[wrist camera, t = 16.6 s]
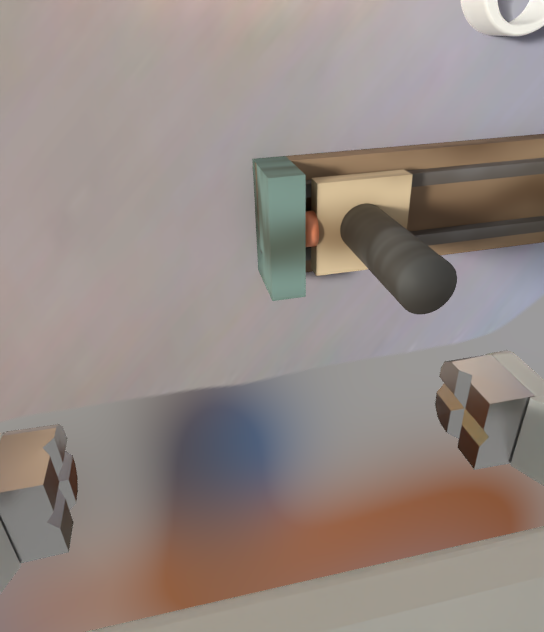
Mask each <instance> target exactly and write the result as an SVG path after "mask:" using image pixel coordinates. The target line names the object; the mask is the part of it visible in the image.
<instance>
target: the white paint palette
mask: <svg viewBox="0 0 544 632" xmlns="http://www.w3.org/2000/svg"><path fill="white" fill-rule="evenodd" d="M461 6H462V10H463V13H464V15H465V18H466V19H467V21H468V23H469V24H470V25H471V26H472V27H473V28H474V29H475V30H476V31H478V32H480V33H482V34H485V35H491V36H523V35H527V34H530V33H532V32H534V31H536V30H538V29H540V28H541V27H543V26H544V0H529V3H528V5H527V6H526V8H525V9H524V11H523V12H522V13H521V14H520V15H519V16H518V17H517V18H516V19H514V20H512V21H510V22H507V21H506V20H505V19H504V18H503V17H502V15H501V13H500V11H499V7H498V0H461Z"/></svg>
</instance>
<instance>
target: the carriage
mask: <svg viewBox="0 0 544 632" xmlns="http://www.w3.org/2000/svg"><path fill="white" fill-rule="evenodd" d="M412 176H413V174H411V173H409V172H407V171H406V170H404V169H402V170H391V171H381V172H370V173H360V174H349V175H338V176H328V177H317V178H311V211H312V210H313V211H314V212H315V214H316V216H317V220H318V225H319V242H318V245H317V246H314V247H311V269H312V270H313V272H314V273H315V274H316V276H320V275H327V274H335V273H343V272H351V271H359V270H366V269H369V270H370V271H371V272H372V273H373V274H374V276H375V277H376V278H377V279H378V280H379V281H380V282H381V283H382V284H383V285H384V286H385V288H386V289H387V290H388V291H389V292H390V293H391V294H392V295H393V296H394V297H395V299H396V300H397V301H398V302H399V303H400V304H401V305H402V306H403V307H404V308H405V309H406V310H407V311H409V312H411V313H414V314H427V313H430V312H433V311H435V310H437V309H439V308H440V307H442V306H443V305H444V304H445V303H446V302H447V301H448V300H449V299H450V297H451V296H452V294H453V292H454V290H455V287H456V283H457V275H456V271H455V269H454V267H453V266H452V265H451V264H450V263H449V262H448V261H447V260H445V259H444V258H443V257H442V256H440V255H439V254H438V253H436V252H435V251H434V250H433V249H431V248H430V247H429V246H427V245H426V244H425V243H424V242H422V241H421V240H420V239H418V238H417V237H416V236H415V235H413V234H412V233H411V232H410V231H408V230H407V223H408V213H409V204H410V195H411V186H412Z"/></svg>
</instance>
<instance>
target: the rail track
mask: <svg viewBox="0 0 544 632" xmlns="http://www.w3.org/2000/svg"><path fill="white" fill-rule="evenodd" d="M402 169H404V170H406V171H407V172H409V173H411V174H413V176H412V186H411V195H410V204H409V213H408V223H407V230H408V231H410V232H411V233H412V234H413V235H415V236H416V237H417V238H418V239H420V240H421V241H422V242H424V243H425V244H426V245H427V246H429V247H430V248H431V249H433V250H434V251H435V252H436V253H438V254H439V255H446V254H454V253H462V252H470V251H478V250H486V249H493V248H501V247H509V246H517V245H525V244H533V243H541V242H544V134H537V135H526V136H514V137H502V138H491V139H479V140H468V141H456V142H444V143H433V144H421V145H410V146H398V147H386V148H375V149H363V150H351V151H340V152H328V153H317V154H305V155H293V156H282V157H270V158H258V159H253V177H254V196H255V215H256V234H257V253H258V270H259V272H260V275H261V277H262V279H263V281H264V283H265V286H266V288H267V290H268V292H269V294H270V296H271V299H272V301H276V300H284V299H291V298H299V297H306V272H312V271H313V270H312V269H311V247H306V211H311V178H317V177H328V176H338V175H349V174H360V173H370V172H381V171H391V170H402Z"/></svg>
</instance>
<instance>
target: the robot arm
mask: <svg viewBox="0 0 544 632" xmlns="http://www.w3.org/2000/svg"><path fill="white" fill-rule="evenodd" d="M439 377H440V378H441V379H442V381H443V382H444V384H443V386H442V387H441V388H440V389H439V390H438V391H437V393H436V401H435V406H436V412H437V417H438V419H439V421H440V424H441V425H442V427H443V428H444V430H445V431H446V432H447V433H448V434H450V435H452V436H454V437H456V438H458V439H459V440H458V449H459V450H460V451H461V453H462V454H463V455H464V457H465V458H466V459H467V461H468V462H469V463H470V465H471V466H472V467H473V469H480V468H486V467H492V466H498V465H503V464H509V463H511V464H510V465H511V466H512V467H514V468H516V469H518V470H519V471H521V472H522V473H524V474H525V475H527V476H529V477H530V478H532V479H533V480H535V481H537V482H538V483H540V484H541V485H543V486H544V379H542V378H541V377H540V376H539V375H538V374H537V373H536V372H535V371H533V370H532V369H531V368H530V367H528V365H527V364H525V363H524V362H523V361H522V360H521V359H520V358H519V357H518V356H516V355H515V354H514V353H513V352H510V351H507V350H506V351H500V352H494V353H489V354H486V355H481V356H475V357H470V358H463V359H457V360H452V361H445V362H444V363H443V365H442V367H441V371H440V376H439ZM66 444H67V437H66V434H65V431H64V429H63V426H61V425H60V424H57V425H50V426H43V427H36V428H29V429H22V430H14V431H7V432H6V433H0V594H1V593H2V591H3V590H4V588H5V587H6V586H7V584H8V583H9V582H10V580H11V579H12V578H13V576H14V575H15V574H16V572H17V571H18V569H19V568H20V567H21V564H20V563H24V562H28V561H33V560H37V559H41V558H46V557H50V556H54V555H59V554H63V553H67V552H69V548H70V541H71V535H72V528H73V519H72V516H71V513H70V509H71V508H72V507H73V506H74V505H75V504H76V501H77V493H78V481H77V480H78V477H77V470H76V465H75V461H74V458H73V455H71V454H69V453H68V452H66V451H65V450H66ZM87 632H544V526H543V527H539V528H534V529H530V530H525V531H521V532H516V533H512V534H508V535H503V536H499V537H495V538H490V539H486V540H482V541H478V542H473V543H469V544H464V545H460V546H456V547H452V548H447V549H443V550H439V551H435V552H430V553H426V554H421V555H417V556H413V557H408V558H404V559H400V560H396V561H391V562H386V563H382V564H378V565H373V566H370V567H365V568H361V569H356V570H352V571H347V572H344V573H339V574H334V575H330V576H326V577H321V578H317V579H313V580H308V581H304V582H300V583H295V584H291V585H286V586H282V587H278V588H274V589H269V590H265V591H260V592H256V593H252V594H247V595H243V596H239V597H234V598H230V599H226V600H221V601H217V602H213V603H209V604H204V605H200V606H195V607H191V608H187V609H182V610H178V611H174V612H169V613H165V614H161V615H157V616H152V617H147V618H143V619H139V620H134V621H130V622H126V623H122V624H117V625H113V626H108V627H104V628H100V629H96V630H91V631H87Z"/></svg>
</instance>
